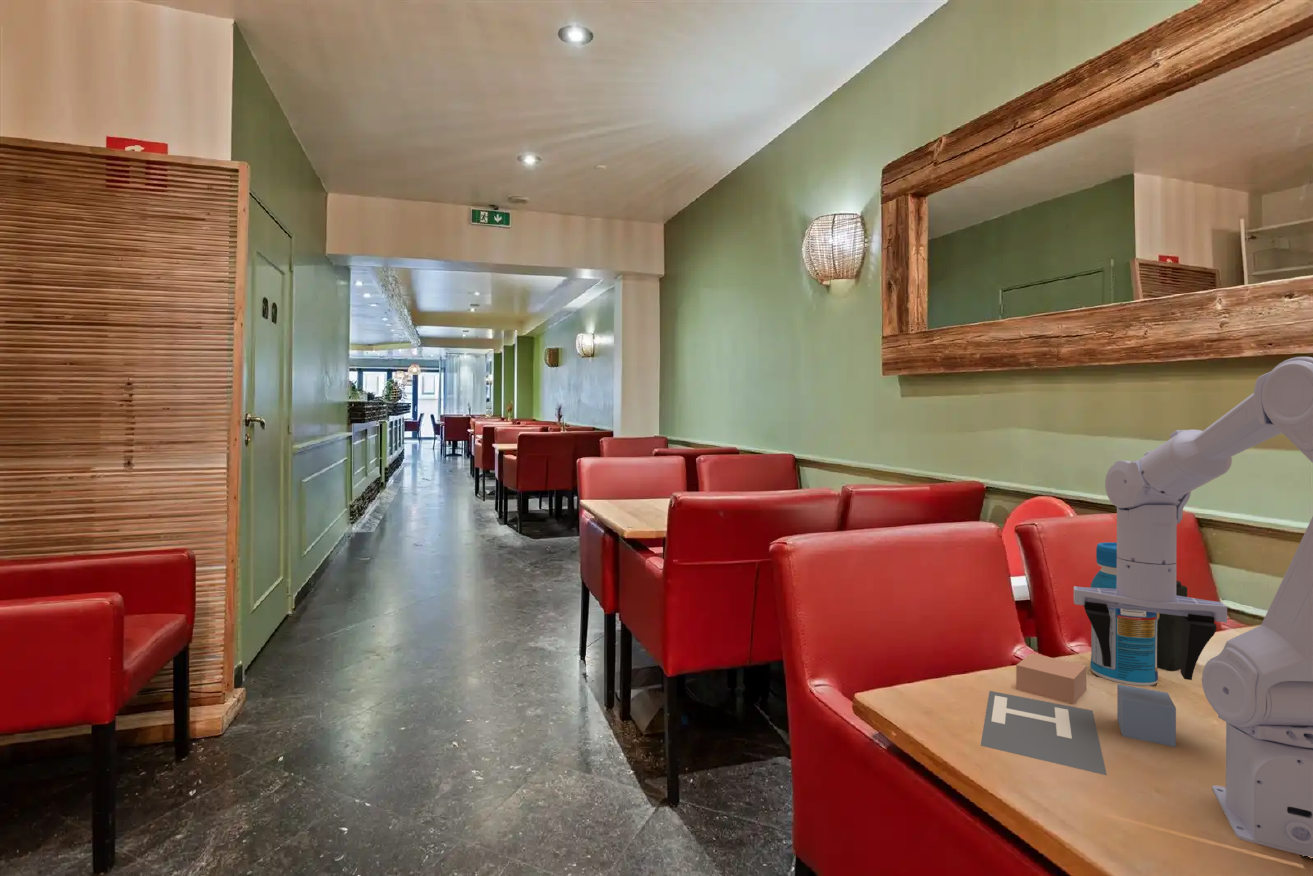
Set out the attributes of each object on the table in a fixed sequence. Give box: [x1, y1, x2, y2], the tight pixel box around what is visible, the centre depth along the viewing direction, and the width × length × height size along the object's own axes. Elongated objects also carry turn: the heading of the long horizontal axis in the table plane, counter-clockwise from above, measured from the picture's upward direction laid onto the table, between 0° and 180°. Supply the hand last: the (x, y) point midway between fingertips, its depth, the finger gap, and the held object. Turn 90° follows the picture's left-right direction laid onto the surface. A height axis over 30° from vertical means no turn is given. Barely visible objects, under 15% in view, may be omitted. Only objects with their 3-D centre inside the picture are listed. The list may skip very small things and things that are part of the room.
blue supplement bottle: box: [1089, 541, 1160, 687], centre depth 93 cm, size 8×8×20 cm
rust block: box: [1015, 652, 1087, 705], centre depth 88 cm, size 7×7×4 cm
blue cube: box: [1116, 683, 1177, 748], centre depth 75 cm, size 5×5×5 cm
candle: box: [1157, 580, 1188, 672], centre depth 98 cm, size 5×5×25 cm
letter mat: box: [980, 690, 1108, 776], centre depth 76 cm, size 18×12×1 cm, turn 148°
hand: (1145, 670), depth 75 cm, fingers open, 7 cm apart
